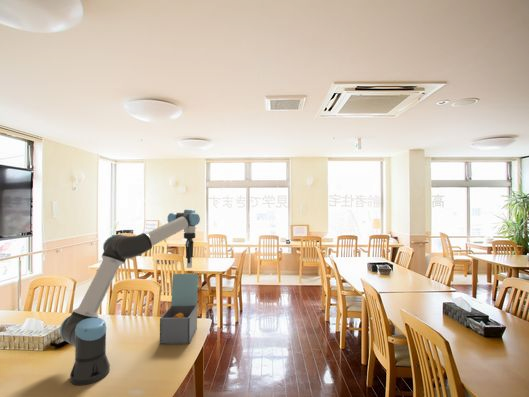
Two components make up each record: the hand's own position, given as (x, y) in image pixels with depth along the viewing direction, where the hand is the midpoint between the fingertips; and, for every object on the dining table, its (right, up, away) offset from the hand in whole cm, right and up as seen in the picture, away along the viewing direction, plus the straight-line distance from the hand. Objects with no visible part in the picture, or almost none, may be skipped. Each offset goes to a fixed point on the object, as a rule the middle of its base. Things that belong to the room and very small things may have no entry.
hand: (189, 267), depth 189 cm
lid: (0, -11, -13) cm, 17 cm away
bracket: (+1, -33, -25) cm, 41 cm away
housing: (+1, -34, -25) cm, 42 cm away
